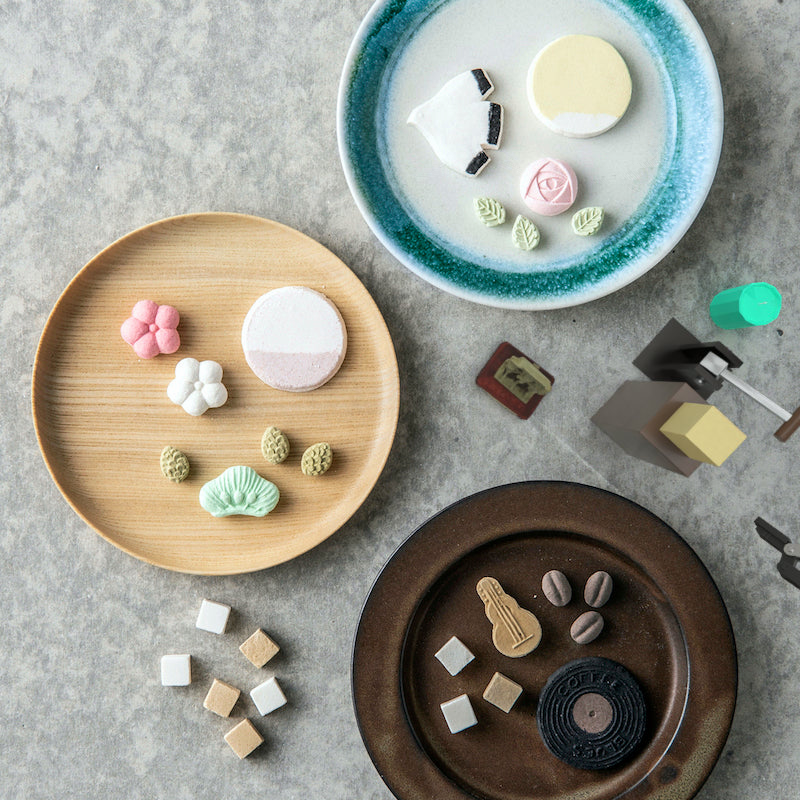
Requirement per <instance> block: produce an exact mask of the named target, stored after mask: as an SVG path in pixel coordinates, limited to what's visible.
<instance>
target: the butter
mask: <svg viewBox="0 0 800 800" xmlns="http://www.w3.org/2000/svg"><path fill="white" fill-rule="evenodd" d="M659 430H660V431H661V432H662V433H663V434H664V435H665V436H666V437H667V438H669V439H670V440H671V441H672V442H673V443H674V444H675V445H676V446H677V447H678V448H679V449H680V450H682V451H683V452H684V453H685V454H686V455H687V456H688V457H689V458H692V459H695V460H698V461H701V462H703V463H705V464H707V465H711V466H715V467H721V465H722V464H724V463H725V461H726V460H727V459H728V458H729V457H730V456H731V455H732V454H733V453H734V451H736V450H737V449H738V448H739V446H741V444H742V443H743V442H744V441H745V440H746V439H747V438H748V436H747V435H746V434H745V433H744V432H742V430H740V429H739V427H737V426H736V425H735V424H734V423H733V422H732V421H731V420H730V419H729V418H727V416H726V415H725V414H723V413H722V412H721V411H720V410H719V409H718V408H717V407H716V406H714V405H713V404H712V405H711V404H710V405H704V404H695V403H686V402H684V403H683V404H682V406H681V407H680V408H679V409H678V410H677V411H676V412H675V413H674V414H673V415H672V416H671V417H670V418H669V419H668V420H667V422H666V423H665V424H664V425H663V426H662V427H661V428H660V429H659Z"/></svg>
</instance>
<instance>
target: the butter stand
mask: <svg viewBox="0 0 800 800" xmlns="http://www.w3.org/2000/svg"><path fill="white" fill-rule="evenodd" d="M684 402H686V403H695V404H704V405H711V404H710V403H709V402H708V401H707V400H706V401H705V400H704V399H703V398H702V397H701V396H700V395H699V394H698V393H697V392H696V391H695V390H693V389H692V388H691V387H690V386H689V385H688V384H687V383H686V382H662V381H652V380H631V379H626V380H624V382H623V383H622V384H621V385H620V386H619V387H618V388H617V389H616V391H615V392H614V393H613V394H612V395H611V396H610V397H609V398H608V399H607V400H606V401H605V402H604V404H602V405H601V407H600V408H599V409H598V410H597V411H596V412H595V413H594V414H593V415H592V416H591V417H590V421H591V422H592V423H593V424H594V425H595V426H597V428H599V429H600V430H601V432H603V433H604V434H605V435H606V436H607V437H608V438H609V439H610V440H612V441H613V442H614V444H616V445H617V446H618V447H619V448H621V450H622V451H624V453H625V454H627V455H628V456H630V457H632V458H635V459H638V460H640V461H642V462H643V461H644V462H646V463H648V464H651V465H654V466H656V467H659V468H662V469H664V470H666V471H669V472H672V473H674V474H678V475H680V476H683V477H686V478H690V477H691V475H692V474H694V472H695V471H696V470H698V468H699V467H700V466H701V465H702V464H703V463H704V462H701V461H698V460H695V459H692V458H689V457H688V456H687V455H686V454H685V453H684V452H683V451H682V450H680V449H679V448H678V447H677V446H676V445H675V444H674V443H673V442H672V441H671V440H670V439H669V438H667V437H666V436H665V435H664V434H663V433H662V432H661V431H660V430H659V429H660V428H661V427H662V426H663V425H664V424H665V423H666V422H667V420H668V419H669V418H670V417H671V416H672V415H673V414H674V413H675V412H676V411H677V410H678V409H679V408H680V407H681V406H682V404H683V403H684Z"/></svg>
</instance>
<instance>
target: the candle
mask: <svg viewBox="0 0 800 800" xmlns="http://www.w3.org/2000/svg"><path fill="white" fill-rule="evenodd" d="M782 299H783V296H782V294H781V293H780V292H779V290H778V289H777V287H776V286H774V285H772V284H770V283H769V282H765V281H760V282H758V281H757V282H751V283H747V284H743V285H740V286H735V287H731V288H728V289H724V290H721V291H720V292H719V293H717V294H716V295H714V296H713V298H712V300H711V302H710V303H709V317H710V319H711V320H712V322H713V323H714V324H715V326H717V327H718V328H720V329H723V330H725V331H727V330H737V329H745V328H746V329H747V328H753V327H760V326H767V325H768V324H770V323H772V322H773V321H775V320H776V319H778V316H779V315H780V312H781V309H782V301H783V300H782Z"/></svg>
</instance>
